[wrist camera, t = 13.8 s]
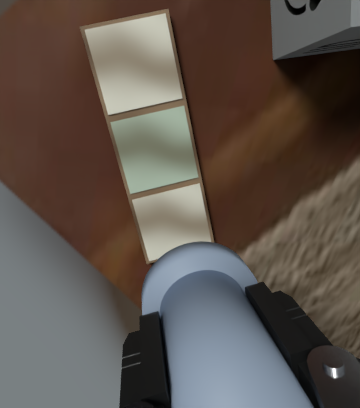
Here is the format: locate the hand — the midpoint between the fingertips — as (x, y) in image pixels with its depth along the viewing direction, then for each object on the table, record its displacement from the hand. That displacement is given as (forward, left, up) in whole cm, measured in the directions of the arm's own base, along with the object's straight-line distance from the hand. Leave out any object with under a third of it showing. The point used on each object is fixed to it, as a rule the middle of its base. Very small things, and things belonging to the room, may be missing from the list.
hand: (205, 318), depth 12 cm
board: (+5, 0, -17) cm, 18 cm away
